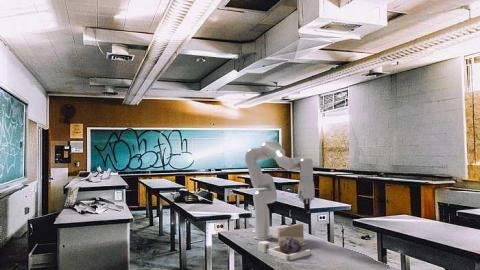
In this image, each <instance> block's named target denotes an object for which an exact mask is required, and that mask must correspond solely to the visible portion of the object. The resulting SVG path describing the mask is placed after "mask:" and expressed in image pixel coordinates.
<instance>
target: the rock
mask: <svg viewBox="0 0 480 270" xmlns="http://www.w3.org/2000/svg"><path fill="white" fill-rule="evenodd" d="M301 249H302V245H300V243H299V241H297V240H295V239H293V238H285V240H284V243H283V244H282V245H281V246H280V252H281V253H284V254H287V255H289V254H293V253H297V252H301Z"/></svg>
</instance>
